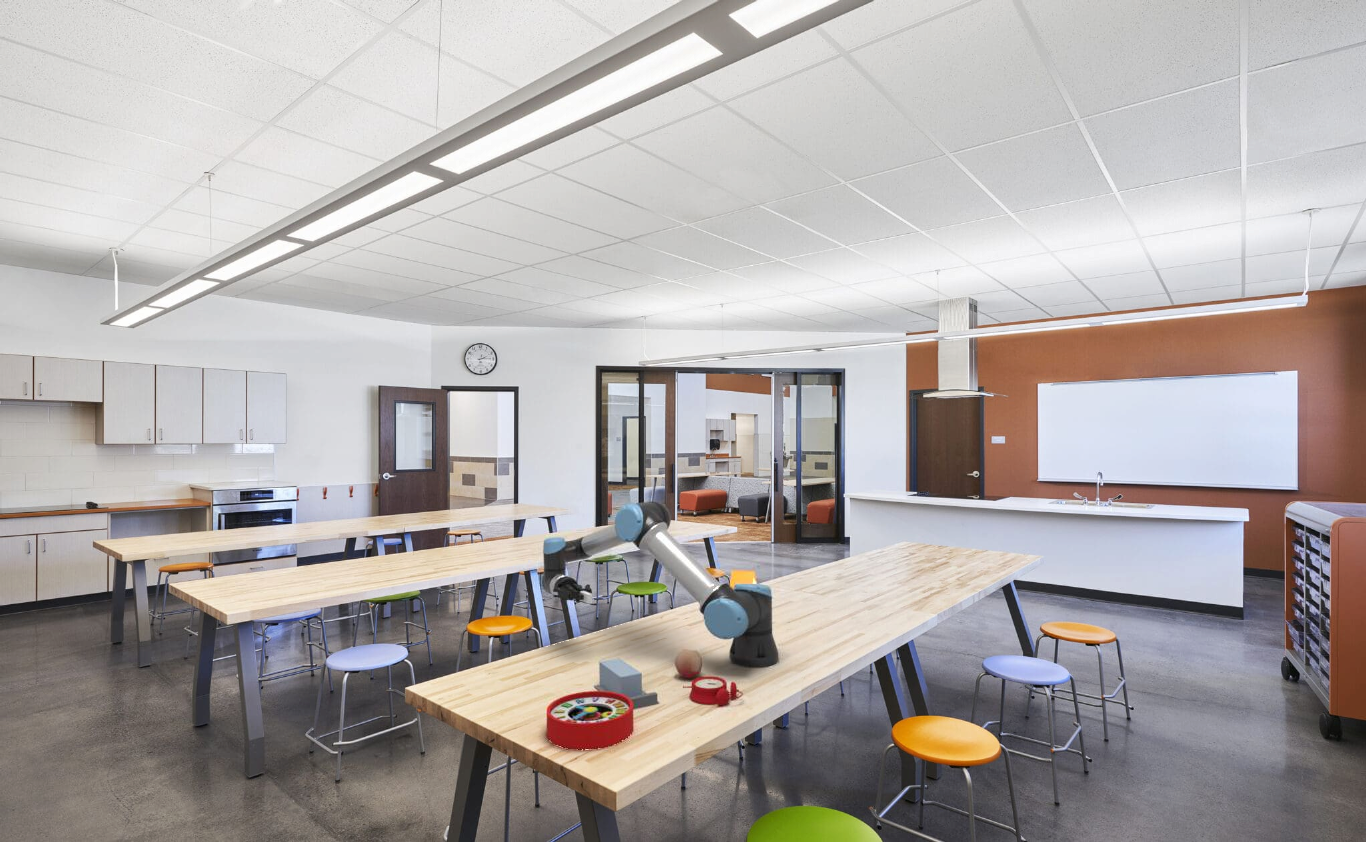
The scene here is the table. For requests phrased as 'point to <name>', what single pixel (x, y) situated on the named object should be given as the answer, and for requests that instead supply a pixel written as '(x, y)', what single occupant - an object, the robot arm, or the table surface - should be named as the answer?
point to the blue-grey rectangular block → (620, 677)
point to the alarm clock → (712, 691)
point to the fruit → (688, 663)
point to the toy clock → (589, 720)
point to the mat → (638, 698)
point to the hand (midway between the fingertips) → (589, 598)
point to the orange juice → (742, 577)
